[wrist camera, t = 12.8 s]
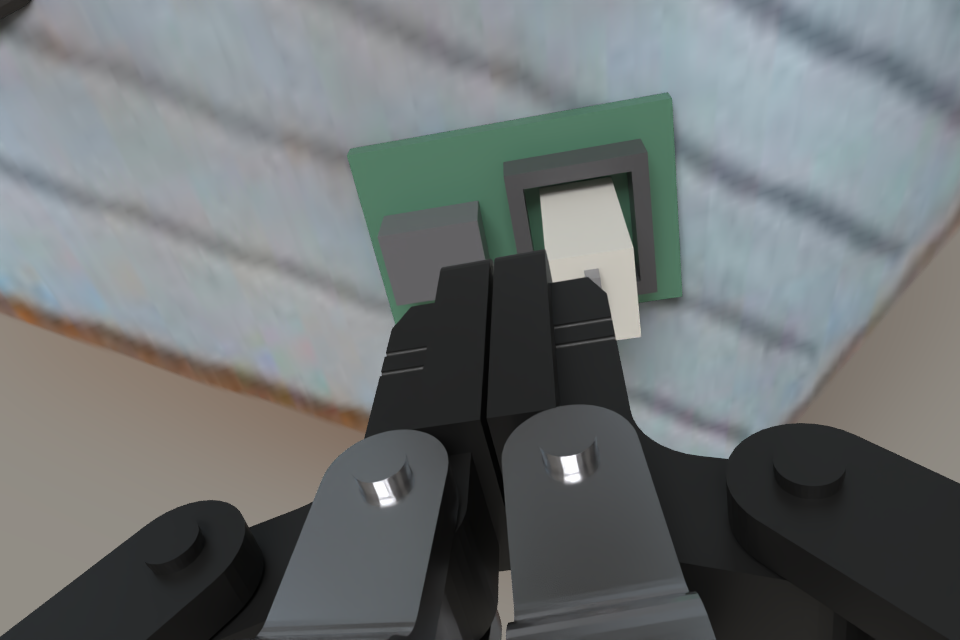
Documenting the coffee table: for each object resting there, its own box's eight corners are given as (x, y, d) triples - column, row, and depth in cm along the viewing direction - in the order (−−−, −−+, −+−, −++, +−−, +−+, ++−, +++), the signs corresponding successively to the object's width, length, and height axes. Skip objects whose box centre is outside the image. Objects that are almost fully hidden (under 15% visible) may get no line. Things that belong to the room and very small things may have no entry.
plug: (610, 176, 38) (636, 256, 30) (618, 254, 40) (643, 347, 32) (539, 188, 38) (546, 270, 31) (550, 264, 40) (560, 358, 33)
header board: (667, 92, 37) (683, 113, 34) (678, 287, 42) (692, 320, 39) (350, 148, 38) (338, 173, 35) (401, 328, 44) (394, 362, 41)
